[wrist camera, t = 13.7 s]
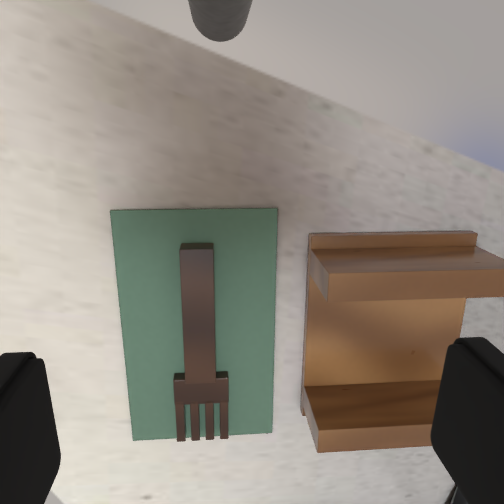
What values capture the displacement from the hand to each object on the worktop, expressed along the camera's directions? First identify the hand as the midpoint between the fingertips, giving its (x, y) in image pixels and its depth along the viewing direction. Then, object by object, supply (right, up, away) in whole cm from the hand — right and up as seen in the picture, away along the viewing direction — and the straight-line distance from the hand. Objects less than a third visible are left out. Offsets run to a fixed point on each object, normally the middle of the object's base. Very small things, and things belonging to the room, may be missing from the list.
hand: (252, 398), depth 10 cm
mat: (-4, -3, +23) cm, 24 cm away
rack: (+11, -3, +25) cm, 27 cm away
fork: (-4, -4, +23) cm, 24 cm away
